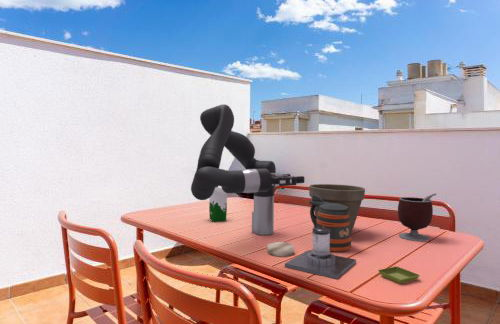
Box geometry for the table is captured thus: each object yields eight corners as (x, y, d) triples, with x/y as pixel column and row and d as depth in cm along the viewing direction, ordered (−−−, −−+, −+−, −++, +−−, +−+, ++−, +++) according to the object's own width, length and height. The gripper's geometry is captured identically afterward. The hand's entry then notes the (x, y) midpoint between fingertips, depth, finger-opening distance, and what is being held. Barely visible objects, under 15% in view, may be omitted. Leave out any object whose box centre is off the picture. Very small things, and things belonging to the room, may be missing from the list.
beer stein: (297, 244, 141) (298, 195, 140) (318, 237, 152) (319, 192, 151) (338, 255, 128) (339, 201, 127) (358, 247, 138) (359, 197, 137)
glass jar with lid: (309, 262, 116) (309, 229, 115) (316, 257, 121) (316, 226, 120) (325, 265, 113) (326, 232, 112) (332, 260, 117) (332, 228, 117)
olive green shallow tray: (396, 272, 112) (396, 265, 112) (420, 281, 104) (420, 275, 104) (377, 276, 108) (377, 270, 107) (400, 286, 100) (400, 279, 100)
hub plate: (284, 266, 115) (284, 257, 114) (308, 253, 129) (308, 244, 129) (337, 279, 104) (337, 268, 104) (356, 262, 119) (356, 253, 119)
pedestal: (262, 253, 129) (262, 246, 129) (275, 246, 137) (275, 240, 137) (285, 258, 123) (285, 251, 123) (298, 251, 132) (298, 244, 131)
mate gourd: (402, 241, 147) (403, 194, 146) (393, 233, 161) (394, 190, 160) (441, 242, 145) (442, 195, 144) (428, 234, 159) (430, 191, 158)
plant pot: (362, 228, 169) (363, 184, 168) (365, 242, 145) (366, 190, 144) (311, 225, 176) (311, 182, 175) (305, 237, 152) (306, 188, 151)
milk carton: (207, 219, 188) (207, 182, 187) (223, 218, 191) (223, 182, 190) (212, 222, 180) (212, 184, 179) (228, 221, 183) (228, 183, 182)
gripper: (264, 170, 104) (309, 168, 111) (244, 167, 116) (285, 165, 123) (264, 195, 104) (308, 192, 111) (244, 189, 117) (285, 186, 124)
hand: (296, 178), depth 117 cm, fingers open, 8 cm apart
